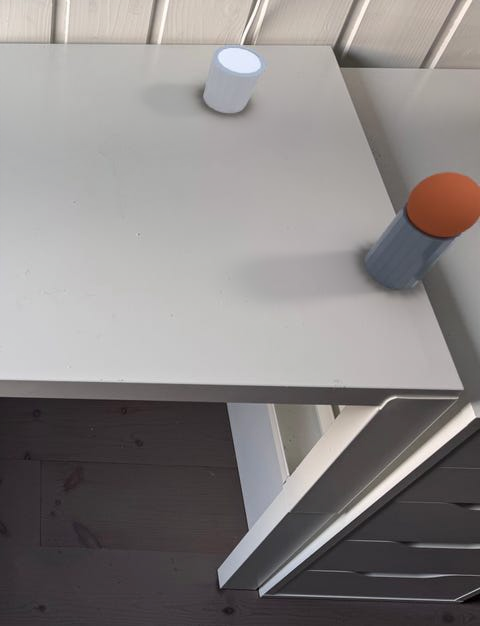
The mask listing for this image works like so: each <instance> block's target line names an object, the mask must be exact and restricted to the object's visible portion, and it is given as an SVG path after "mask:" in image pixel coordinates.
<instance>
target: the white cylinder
mask: <svg viewBox="0 0 480 626" xmlns="http://www.w3.org/2000/svg"><path fill="white" fill-rule="evenodd" d="M210 61H211V62H210V67H209V69H208V74H207V78H206V83H205V87H204V91H203V96H202V97H203V100H204V103H205V104H206V105H207V106H208V107H209V108H211V109H212V110H213V111H215V112H219V113H223V114H235V113H239V112H241V111H242V110H244V109H245V108H246V106H247V104H248V102H249V100H250V99H251V97H252V95H253V93H254V92H255V89H256V87H257V86H258V84H259V82H260V80H261V78H262V76H263V75H264V73H265V71H266V68H267V63H266V60H265V58H264V57H263V56H262V55H261V54H260V53H259V52H258V51H256V50H254V49H252V48H250V47H248V46H243V45H239V44H226V45H223V46H219V47H218V48H217V49H216V50H214V51H213V54H212V57H211V60H210Z"/></svg>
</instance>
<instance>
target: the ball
mask: <svg viewBox="0 0 480 626" xmlns="http://www.w3.org/2000/svg"><path fill="white" fill-rule="evenodd" d="M406 202H407V213H408V217H409V219H410V221H411V223H412V224H413V225H414V226H415V227H416V228H417V229H419V230H420V231H422V232H423V233H425V234H428V235H431V236H433V237H451V236H455V235H458V234H461V233H462V234H463V233H465V232H466V231H468V230H469V229H471V228H472V227H473V226H474V225H475V224H476V222H478V220H479V219H480V186H479V185H478V183H477V182H475V180H474V179H472V178H471V177H469V176H467V175H465V174H463V173H458V172H452V171H451V172H448V171H446V172H439V173H435V174H432V175H430V176H427V177H426V178H424V179H422V180H421V181H420V182H418V183H417V184H416V185H415V186H414V187H413V189H412V190H411V192H410V194H409V196H408V198H407V201H406ZM462 234H461V235H462Z"/></svg>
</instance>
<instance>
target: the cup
mask: <svg viewBox="0 0 480 626" xmlns="http://www.w3.org/2000/svg"><path fill="white" fill-rule="evenodd" d="M407 202H408V201H406V202H405V203H404V205H403V206H402V207H401V209H400V210H399V211H398V212H397V214H396V215H395V217H394V218H393V219H392V221H391V222H390V223H389V224H388V226H387V227H386V229H384V231H382V234H381V235H380V236H379V237H378V239H377V240H376V241H375V243H374V244H373V245H372V247H371V248H370V249H369V250H368V252H367V254H366V255H365V256H364V261H363V262H364V263H363V264H364V267H365V269H366V271H367V273H368V274H369V276H370V277H371V278H372V279H373V280H375V281H376V282H377V283H379V284H380V285H382V286H384V287H386V288H388V289H391V290H392V289H393V290H397V291H398V290H400V291H404V290H409V289H412V288H413V287H415V286H417V284H418V283H419V282H420V281H421V280H422V279H423V278H424V277H425V276H426V274H427V273H428V272H429V271H430V270H431V269H432V268H433V267H434V265H436V263H438V261H439V260H440V259H441V258H442V257H443V256H444V255H445V253H447V251H448V250H449V249H451V247H452V246H453V245H454V244H455V243H456V241H457V240H459V238H460V237H461V235H462V234H463V233H461V234H458V235H455V236H451V237H433V236H431V235H428V234H425V233H423V232H422V231H420V230H419V229H417V228H416V227H415V226H414V225H413V224H412V223H411V221H410V219H409V217H408V213H407Z"/></svg>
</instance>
